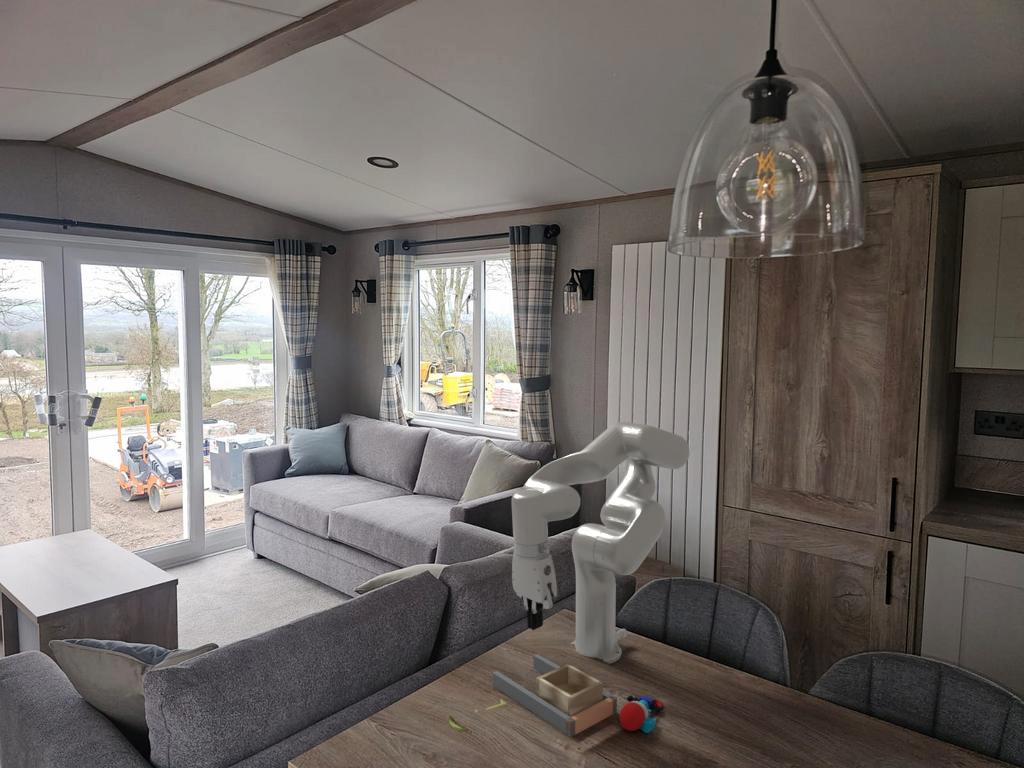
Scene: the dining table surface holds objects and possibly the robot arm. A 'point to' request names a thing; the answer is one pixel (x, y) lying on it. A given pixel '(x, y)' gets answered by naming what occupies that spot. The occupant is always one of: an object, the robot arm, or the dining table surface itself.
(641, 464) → the robot arm
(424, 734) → the dining table surface
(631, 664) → the dining table surface
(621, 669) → the dining table surface
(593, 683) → the crate
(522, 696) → the rail bay
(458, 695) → the dining table surface
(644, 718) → the toy figure
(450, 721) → the key
